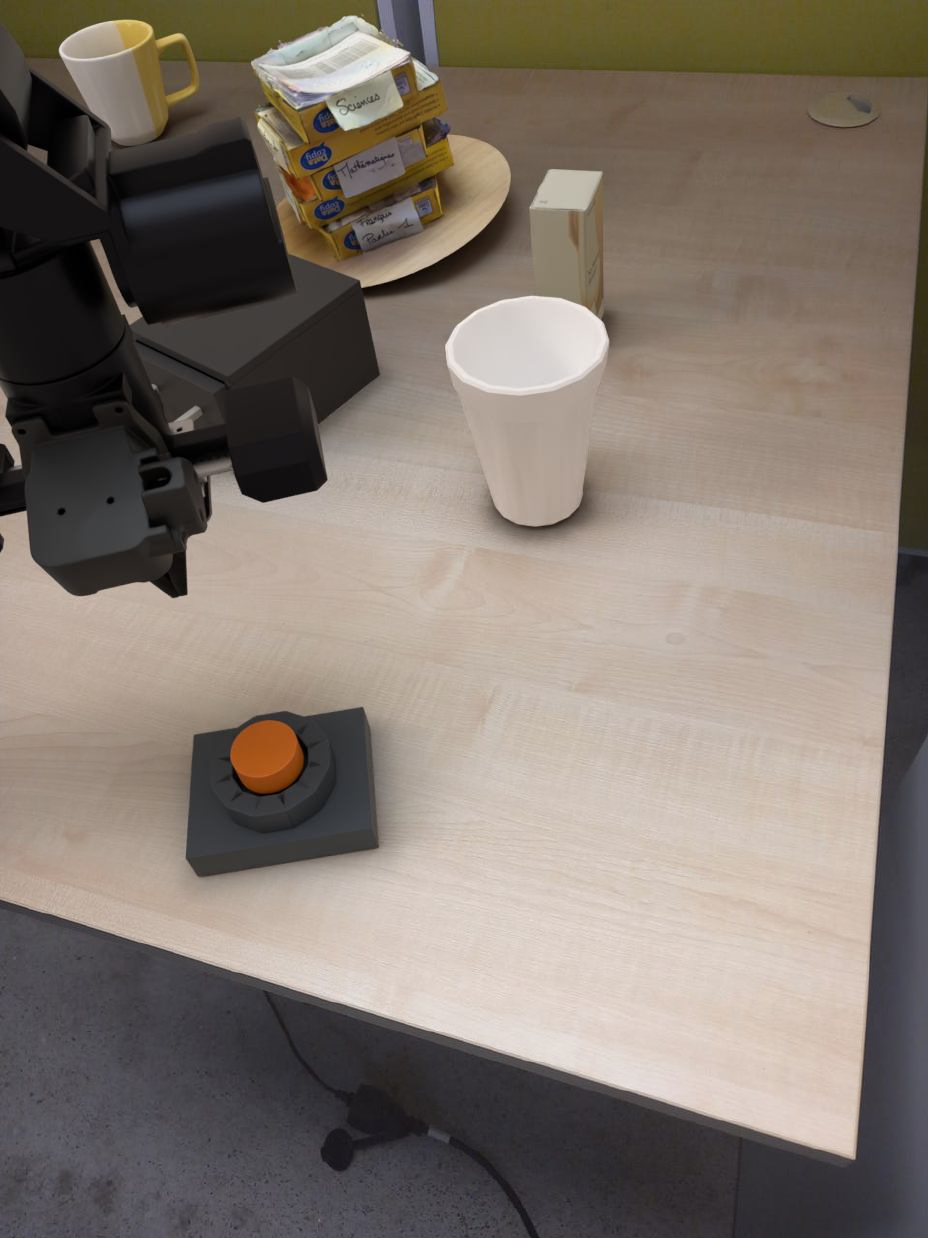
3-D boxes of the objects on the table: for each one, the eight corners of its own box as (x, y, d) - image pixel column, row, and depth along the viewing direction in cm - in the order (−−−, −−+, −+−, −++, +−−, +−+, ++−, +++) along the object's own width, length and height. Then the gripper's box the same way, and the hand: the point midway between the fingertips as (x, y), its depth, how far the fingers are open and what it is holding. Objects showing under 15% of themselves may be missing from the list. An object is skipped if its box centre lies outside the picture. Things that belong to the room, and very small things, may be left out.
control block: (198, 877, 56) (174, 842, 53) (204, 754, 61) (183, 716, 58) (378, 848, 56) (365, 811, 53) (370, 727, 61) (357, 687, 58)
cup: (451, 473, 75) (426, 318, 65) (580, 437, 76) (575, 279, 66) (491, 567, 68) (469, 410, 58) (632, 526, 69) (635, 365, 59)
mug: (97, 164, 114) (58, 65, 106) (93, 127, 121) (57, 32, 113) (217, 135, 116) (188, 36, 108) (207, 100, 122) (178, 4, 114)
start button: (238, 799, 54) (228, 782, 53) (239, 743, 57) (230, 725, 55) (305, 788, 54) (297, 771, 53) (303, 732, 57) (296, 714, 55)
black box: (260, 469, 77) (228, 376, 71) (163, 418, 83) (125, 327, 76) (380, 374, 83) (360, 279, 77) (282, 332, 89) (255, 240, 82)
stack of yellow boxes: (262, 320, 90) (205, 130, 78) (256, 188, 106) (207, 12, 94) (536, 269, 91) (523, 72, 78) (488, 145, 107) (472, -35, 94)
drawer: (198, 500, 74) (167, 426, 69) (111, 450, 79) (76, 378, 74) (353, 377, 82) (336, 303, 77) (265, 339, 87) (243, 266, 82)
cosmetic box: (589, 356, 82) (586, 212, 72) (536, 352, 83) (526, 209, 74) (606, 310, 85) (605, 167, 76) (555, 306, 87) (548, 165, 77)
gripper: (-213, 523, 37) (-10, 756, 49) (296, 410, 38) (373, 667, 49) (-153, 349, 44) (11, 589, 56) (272, 257, 45) (345, 513, 57)
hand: (180, 591), depth 54 cm, fingers closed
